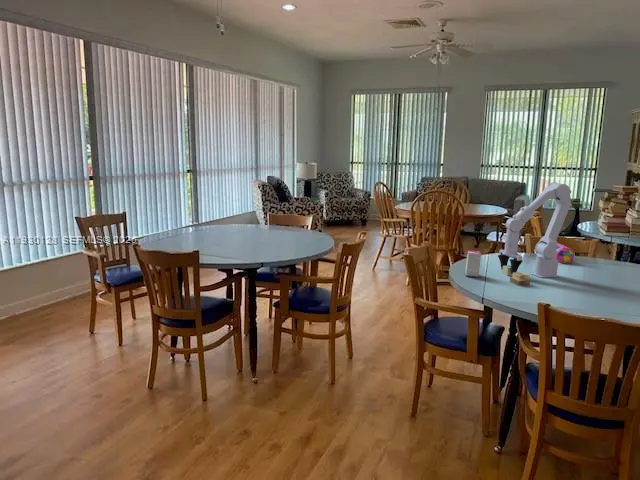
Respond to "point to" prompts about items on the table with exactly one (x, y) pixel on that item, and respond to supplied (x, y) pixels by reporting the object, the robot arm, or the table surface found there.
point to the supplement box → (472, 264)
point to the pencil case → (564, 254)
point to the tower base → (519, 282)
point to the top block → (507, 270)
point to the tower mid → (520, 276)
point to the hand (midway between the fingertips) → (508, 271)
